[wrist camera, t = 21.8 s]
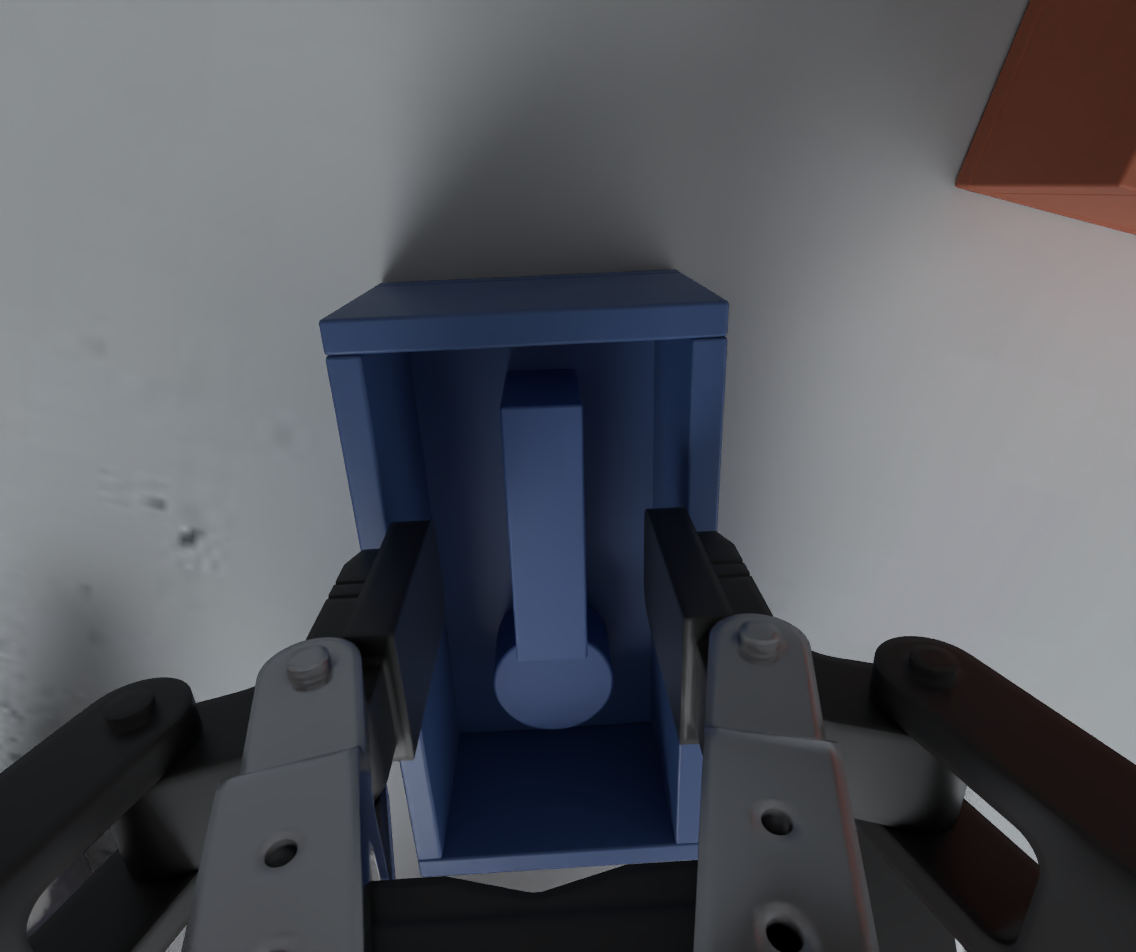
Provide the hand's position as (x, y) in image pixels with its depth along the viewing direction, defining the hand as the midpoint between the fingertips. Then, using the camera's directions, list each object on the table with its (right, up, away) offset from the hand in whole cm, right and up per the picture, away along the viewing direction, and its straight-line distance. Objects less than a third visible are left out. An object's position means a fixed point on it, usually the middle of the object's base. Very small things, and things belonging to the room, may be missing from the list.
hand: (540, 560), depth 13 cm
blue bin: (0, 0, +5) cm, 5 cm away
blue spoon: (0, 0, +5) cm, 5 cm away
